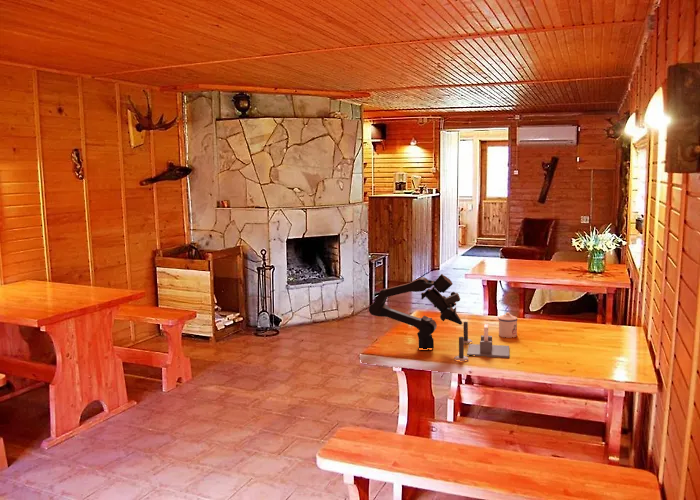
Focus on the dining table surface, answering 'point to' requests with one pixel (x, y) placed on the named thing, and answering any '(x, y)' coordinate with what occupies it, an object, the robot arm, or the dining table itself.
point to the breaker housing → (488, 349)
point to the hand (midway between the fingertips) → (461, 323)
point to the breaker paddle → (485, 332)
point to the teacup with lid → (507, 326)
